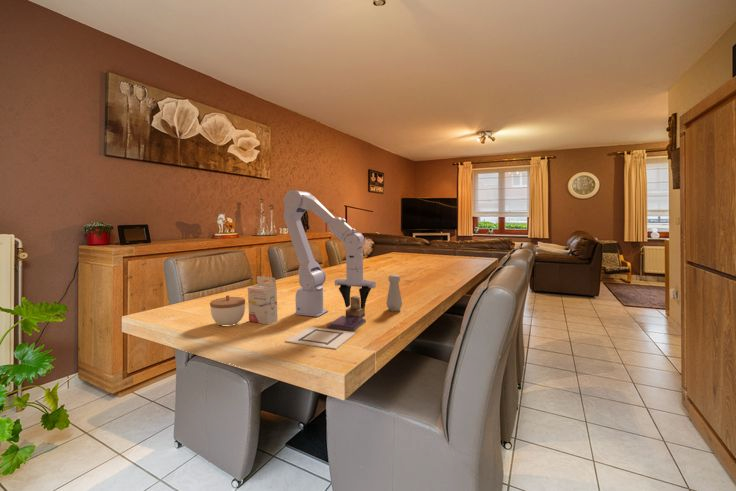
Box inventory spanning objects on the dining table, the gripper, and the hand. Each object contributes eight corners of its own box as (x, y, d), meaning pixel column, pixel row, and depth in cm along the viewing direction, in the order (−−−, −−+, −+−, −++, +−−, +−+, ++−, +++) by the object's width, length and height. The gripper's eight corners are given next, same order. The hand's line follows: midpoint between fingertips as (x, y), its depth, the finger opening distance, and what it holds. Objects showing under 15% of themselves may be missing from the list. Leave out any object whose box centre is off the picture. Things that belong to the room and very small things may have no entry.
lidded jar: (252, 319, 119) (251, 292, 118) (233, 330, 109) (232, 300, 108) (224, 318, 122) (223, 291, 121) (203, 328, 111) (202, 298, 110)
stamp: (345, 318, 120) (345, 298, 119) (351, 314, 125) (351, 295, 124) (359, 320, 118) (358, 299, 117) (364, 315, 123) (364, 296, 122)
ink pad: (327, 328, 110) (326, 323, 110) (341, 319, 119) (341, 315, 119) (353, 331, 106) (353, 326, 106) (365, 321, 116) (365, 317, 115)
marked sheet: (284, 341, 98) (284, 340, 98) (309, 327, 110) (309, 326, 110) (336, 349, 92) (336, 347, 92) (355, 333, 104) (355, 332, 104)
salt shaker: (401, 312, 126) (401, 276, 125) (385, 311, 127) (385, 276, 126) (402, 308, 132) (402, 273, 131) (387, 307, 133) (387, 273, 132)
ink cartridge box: (248, 321, 117) (246, 278, 116) (258, 317, 121) (256, 275, 120) (268, 325, 113) (266, 280, 112) (278, 320, 118) (276, 277, 116)
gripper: (378, 267, 121) (379, 306, 122) (340, 265, 126) (341, 302, 127) (371, 270, 114) (371, 311, 115) (331, 268, 120) (332, 307, 121)
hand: (355, 307), depth 121 cm, fingers open, 5 cm apart
